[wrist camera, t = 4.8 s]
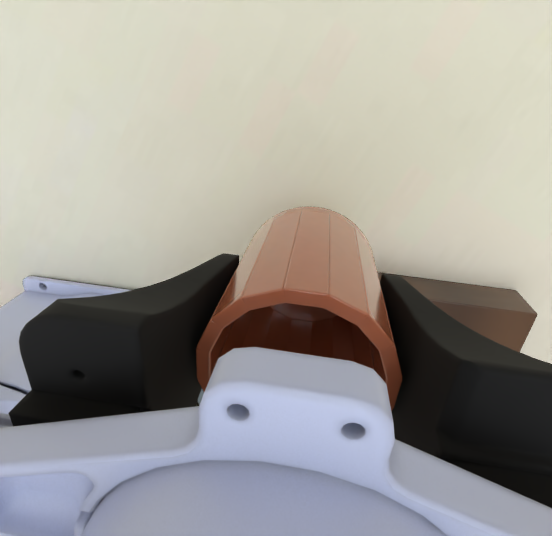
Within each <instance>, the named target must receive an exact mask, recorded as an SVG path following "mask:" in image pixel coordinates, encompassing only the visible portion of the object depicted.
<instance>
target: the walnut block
mask: <svg viewBox="0 0 552 536" xmlns="http://www.w3.org/2000/svg"><path fill="white" fill-rule="evenodd" d="M383 274H384V273H383ZM381 275H382V273H378V277H379V281H380V280H381ZM391 275H392V274H391ZM399 276H400V275H399ZM401 277H402V278H404V279H405V280H406V281H407V282H408V283H410V284H411V285H412V286H413V287H414V288H415V289H417V290H418V291H419V292H420V293H421V294H422V295H424V296H425V297H426V298H427V299H428V300H430V301H431V302H432V303H433V304H435V305H436V306H437V307H438V308H440V309H441V310H443V311H444V312H445V313H447V314H448V315H449V316H451V317H452V318H454V319H455V320H457V321H458V322H460V323H462V324H463V325H465V326H467V327H468V328H470V329H472V330H473V331H475V332H477V333H479V334H481V335H483V336H485V337H487V338H489V339H491V340H493V341H495V342H497V343H499V344H501V345H503V346H505V347H508V348H510V349H512V350H515V351H517V352H520V350H521V348H522V346H523V344H524V342H525V340H526V338H527V335H528V333H529V331H530V329H531V327H532V325H533V323H534V321H535V319H536V317H537V313H536V312H535V311H534V310H533V309H532V307H531V306H530V305H529V304H528V303H527V302H526V301H525V300H524V299H523V298H522V296H521V295H520V294H519V293H518V292H517V291H516V290H508V289H500V288H493V287H485V286H477V285H470V284H462V283H454V282H446V281H439V280H431V279H423V278H415V277H408V276H401Z"/></svg>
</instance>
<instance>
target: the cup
mask: <svg viewBox="0 0 552 536" xmlns="http://www.w3.org/2000/svg"><path fill="white" fill-rule="evenodd" d="M247 347H259V348H266V349H273V350H280V351H287V352H294V353H300V354H307V355H314V356H321V357H328V358H334V359H341V360H348V361H353V362H356V363H358V364H361V365H364V366H366V367H369V368H372V369H374V371H375V372H376V373H377V374H378V375H379V376H380V377H381V378H382V379H383V381H384V382H385V383H386V385H387V390H388V396H389V401H390V406H391V411H392V410H393V408H394V406H395V403H396V400H397V396H398V393H399V390H400V386H401V383H402V380H403V379H402V377H403V376H402V372H401V367H400V363H399V359H398V355H397V350H396V346H395V342H394V338H393V334H392V330H391V326H390V322H389V318H388V314H387V310H386V306H385V302H384V298H383V294H382V289H381V285H380V281H379V277H378V273H377V269H376V265H375V261H374V257H373V253H372V249H371V247H370V245H369V242H368V240H367V238H366V237H365V235H364V234H363V232H362V231H361V230H360V229H359V228H358V227H357V226H356V225H355V224H354V223H353V222H352V221H350V220H349V219H348V218H346V217H344V216H343V215H341V214H339V213H337V212H334V211H331V210H328V209H325V208H319V207H298V208H293V209H289V210H286V211H283V212H281V213H279V214H277V215H275V216H273V217H272V218H270V219H269V220H267V221H266V222H265V223H264V224H263V225H262V226H261V227H260V228H259V229H258V231H257V232H256V233H255V234H254V236H253V238H252V240H251V242H250V244H249V246H248V248H247V250H246V251H245V253H244V255H243V257H242V259H241V261H240V263H239V265H238V267H237V269H236V271H235V273H234V275H233V276H232V278H231V280H230V282H229V284H228V286H227V288H226V290H225V292H224V294H223V296H222V298H221V299H220V301H219V303H218V305H217V307H216V309H215V311H214V313H213V315H212V317H211V319H210V321H209V323H208V324H207V326H206V328H205V330H204V332H203V334H202V336H201V338H200V340H199V342H198V344H197V346H196V369H197V379H198V382H199V384H200V386H201V388H202V389H203V391H204V392H205V389H206V387H207V384H208V382H209V380H210V377H211V375H212V372H213V370H214V368H215V365H216V363H217V360H218V358H220V357H221V356H223V355H224V354H226V353H227V352H229V351H231V350H232V349H234V348H247Z"/></svg>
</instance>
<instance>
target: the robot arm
mask: <svg viewBox="0 0 552 536" xmlns="http://www.w3.org/2000/svg"><path fill="white" fill-rule="evenodd" d="M238 265H239V255H231V254H221V255H218V256H216V257H214V258H213V259H211V260H209V261H207V262H205V263H203V264H201V265H199V266H197V267H195V268H193V269H191V270H189V271H187V272H185V273H182V274H180V275H178V276H176V277H174V278H171V279H168V280H166V281H163V282H160V283H157V284H154V285H151V286H147V287H143V288H139V289H135V290H128V289H121V288H114V287H107V286H100V285H93V284H85V283H78V282H71V281H64V280H57V279H50V278H43V277H36V276H28V277H26V278H24V279H23V286H24V290H25V291H24V292H23V293H21V294H20V295H18V296H17V297H15V298H14V299H12V300H11V301H9V302H8V303H6V304H5V305H3V306H2V307H0V536H552V364H550V363H547V362H544V361H541V360H538V359H535V358H532V357H530V356H527V355H525V354H522V353H520V352H517V351H515V350H512V349H510V348H508V347H505V346H503V345H501V344H499V343H497V342H495V341H493V340H491V339H489V338H487V337H485V336H483V335H481V334H479V333H477V332H475V331H473V330H472V329H470V328H468V327H467V326H465V325H463V324H462V323H460V322H458V321H457V320H455V319H454V318H452V317H451V316H449V315H448V314H447V313H445V312H444V311H443V310H441V309H440V308H438V307H437V306H436V305H435V304H433V303H432V302H431V301H430V300H428V299H427V298H426V297H425V296H424V295H422V294H421V293H420V292H419V291H418V290H417V289H415V288H414V287H413V286H412V285H411V284H410V283H408V282H407V281H406V280H405V279H404V278H402V277H401V276H399V275H391V274H383V273H382V275H381V280H380V285H381V289H382V294H383V298H384V302H385V306H386V310H387V314H388V318H389V322H390V326H391V330H392V334H393V338H394V342H395V346H396V350H397V355H398V359H399V363H400V367H401V372H402V376H403V377H402V379H403V380H402V383H401V386H400V390H399V393H398V396H397V400H396V403H395V406H394V408H393V410H392V411H391V406H390V401H389V396H388V390H387V385H386V383H385V382H384V381H383V379H382V378H381V377H380V376H379V375H378V374H377V373H376V372H375V371H374V369H372V368H369V367H366V366H364V365H361V364H358V363H356V362H353V361H348V360H341V359H334V358H328V357H321V356H314V355H307V354H300V353H294V352H287V351H280V350H273V349H266V348H259V347H247V348H234V349H232V350H231V351H229V352H227V353H226V354H224V355H223V356H221V357H220V358H218V360H217V363H216V365H215V368H214V370H213V372H212V375H211V377H210V380H209V382H208V384H207V387H206V389H205V392H204V394H203V397H202V400H201V403H200V406H196V404H197V401H198V398H199V395H200V392H201V389H202V388H201V386H200V384H199V382H198V379H197V369H196V346H197V344H198V342H199V340H200V338H201V336H202V334H203V332H204V330H205V328H206V326H207V324H208V323H209V321H210V319H211V317H212V315H213V313H214V311H215V309H216V307H217V305H218V303H219V301H220V299H221V298H222V296H223V294H224V292H225V290H226V288H227V286H228V284H229V282H230V280H231V278H232V276H233V275H234V273H235V271H236V269H237V267H238ZM44 284H45V285H46V286H45V285H44Z"/></svg>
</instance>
